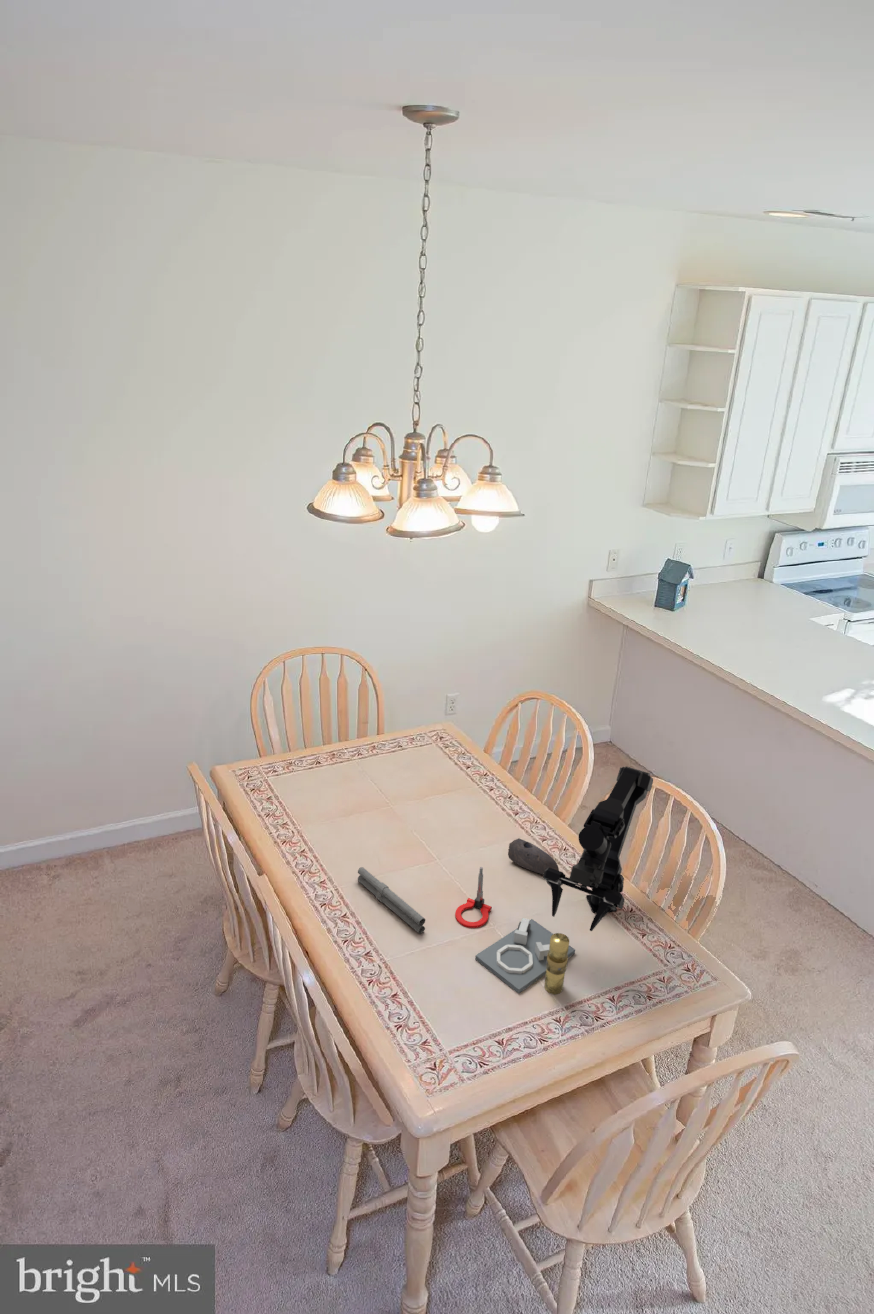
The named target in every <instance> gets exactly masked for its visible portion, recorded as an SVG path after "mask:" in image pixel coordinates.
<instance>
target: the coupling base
mask: <svg viewBox="0 0 874 1314" xmlns="http://www.w3.org/2000/svg"><path fill="white" fill-rule="evenodd" d="M553 934H554V933H553V932H551V931H550V930H548V929H547V928H545V927H544V926H543V925H542V924H540V923H538V922H537V921H535V920H534V919H533V918H531V919H529V918H526V917H525V918H524V917H522V919H521V921H519V923H518V925H517V928H516V929H513V930H512V931H511V932H509V933H508V934H506V935H504V936H503V937H502V938H500V939H498V940H497V941H496V942H493V943H492V944H490V945H489V946H487V947H486V948H485V949H483V950H481V951H480V952H478V953H477V954H475V960H476V961H477V962H478V963H479V964H481V966H483V967H484V968H486V970H488V971H489V972H490V973H492V974H493V975H494V976H495V977H497V978H498V979H499V980H501V981H502V982H503V983H504V984H506V985H507V986H508V987H509V988H510V989H512V990H513V991H514V992H516V993H517V994H520V993H522V992H523V991H524V990H526V989H528V987H529V988H530V986H531V985H533V984H535V982H536V983H537V981H538V980H540V979H541V978H543V976H546V969H547V968H546V961H547V955H548V952H549V946H550V939H551V936H552V935H553ZM574 954H576V949H575V948H574V947H573V946H571V945H570V944H569V948H568V955H567V956H568V959H569V958H570V957H572V956H573V955H574Z"/></svg>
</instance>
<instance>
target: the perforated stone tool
mask: <svg viewBox="0 0 874 1314" xmlns="http://www.w3.org/2000/svg"><path fill="white" fill-rule="evenodd" d="M507 853H508V854H507V856H508V858H509V860H511V861H512V862H513V863H515V864H516V865H518V866H520V867H522V868H524V869H526V870H529V871H531V872H535V873H537V874H540V875H544V872H545V870H546V869H547V868H549V867H550V868H552V869H555V870H558V871H560V869H559V864H558V863H557V862H556V860H555V859H554V858H553V856H552V855H550V854H549V853H547V852H545V851H544V850H543V849H541V848H540V847H538V846H537V845H535V844H533V843H532V842H529V841H526V840H524V839H521V838H520V837H519V838H516V839H514V840H512V841H511V842H510V843H509V844H508V852H507Z"/></svg>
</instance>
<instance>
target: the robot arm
mask: <svg viewBox="0 0 874 1314" xmlns="http://www.w3.org/2000/svg"><path fill="white" fill-rule="evenodd" d="M653 783H654V778H653V777H652V776H651V773H650V772H647V771H643V770H641V769H636V768H633V767H630V766H622V767H619V770H618V774H617V777H616V783H615V784H614V786H613V788H612V789H611V792H610V793H609V795H608V797H607V798H606V799H603V800H600V801H599V802H598V804H597V805H596V806H595V808H592V810H591V812H590V813H589V815H588V817H587V818H586V820H585V821H584V823H583V828H582V829H581V830H580V832H579V833H578V842H579V845H580V846H581V848H582V850H583V851H582V853H581V857H580V858H579V859H578V862H577V863H576V864H574V865H572V866H571V871H570V875H569V877H567V876H566V874H564V872H563V871H561V870H559V871H558V870H555V869H552V868H550V867H549V868H547V869H546V870H545V872H544V875H543V876H542V878H543V879H544V880H545V881H546V883H547V885H548V886H550V890H551V899H552V900H551V917H554V918H555V916H556V914H557V911H558V908H559V904H560V902H561V897H562V895H563V891H564V889H563V887H562V886H563V885H564V886H568V887H570V888H573V889H575V890H578V891H580V892H583V893H586V895H585V898H586V900H587V902H588V905H589V907H590V909H591V912H592V913H594V914H595V915H594V916H593V920H592V922H591V924H590V926H589V927H590V928H589V931H590V932H593V931H594V930H595V928H596V927H597V926H598V924H599V923H600V922H601V921H602V919H603V918H604V917H605V916H607V914H608V913H614V912H617V911H618V909H621V910H623V906H624V904H625V897H624V896H623V894H622V893H623V891H624V880H625V878H624V876H623V875H622V871H623V870H622V865H621V860H620V859H621V858H620V856H621V853H622V850H623V847H624V844H625V842H626V838H627V835H628V831H629V829H630V826H631V823H632V820H633V817H634V814H635V811H636V808H637V806H638V805H639V804H640V803H642V801H643V802H644V800H645V799H646V798H647V794H648V792H650V791H651V790H652V787H653ZM589 888H590V889H589Z"/></svg>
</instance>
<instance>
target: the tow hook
mask: <svg viewBox="0 0 874 1314" xmlns="http://www.w3.org/2000/svg"><path fill="white" fill-rule="evenodd" d="M483 869H484V868H483V866H479V873H478V875H477V876H478V879H477V890H476V897H475V898H474V899H472V898H470V897H468V898H467V899H466V902H465V903H463V904H460V905H459V906H458V907H457V908H456V909H455V914H454V916H455V917H454V918H455V920H456V922H457V923H458V924H460V925H461V926H463V927H465V928H468V929H478V928H481V927H483V926H484V925H486V924H487V923H488V921H489V913H490V912H492V908H493V907H492V906H491V905H488V904H485V898H483V896H484V893H483V892H484V891H483V885H484V884H483V883H484V873H483ZM473 908H477V909H480V914H481V918H480V919H479V920H477V921H468V920H466V919H464V918H463V916H462V913H463V912H464V911H466V910H468V909H469V910H470V909H471V910H472V909H473Z"/></svg>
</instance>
